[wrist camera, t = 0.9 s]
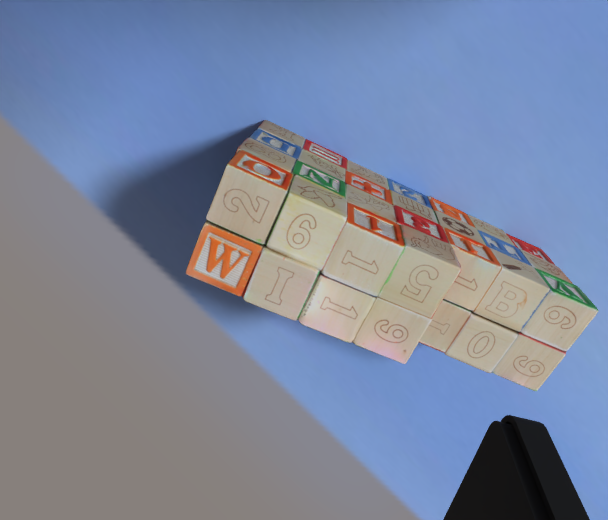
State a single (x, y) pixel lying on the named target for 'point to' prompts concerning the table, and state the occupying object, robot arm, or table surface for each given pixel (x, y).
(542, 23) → the table surface
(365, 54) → the table surface
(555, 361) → the stack of blocks
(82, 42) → the table surface
